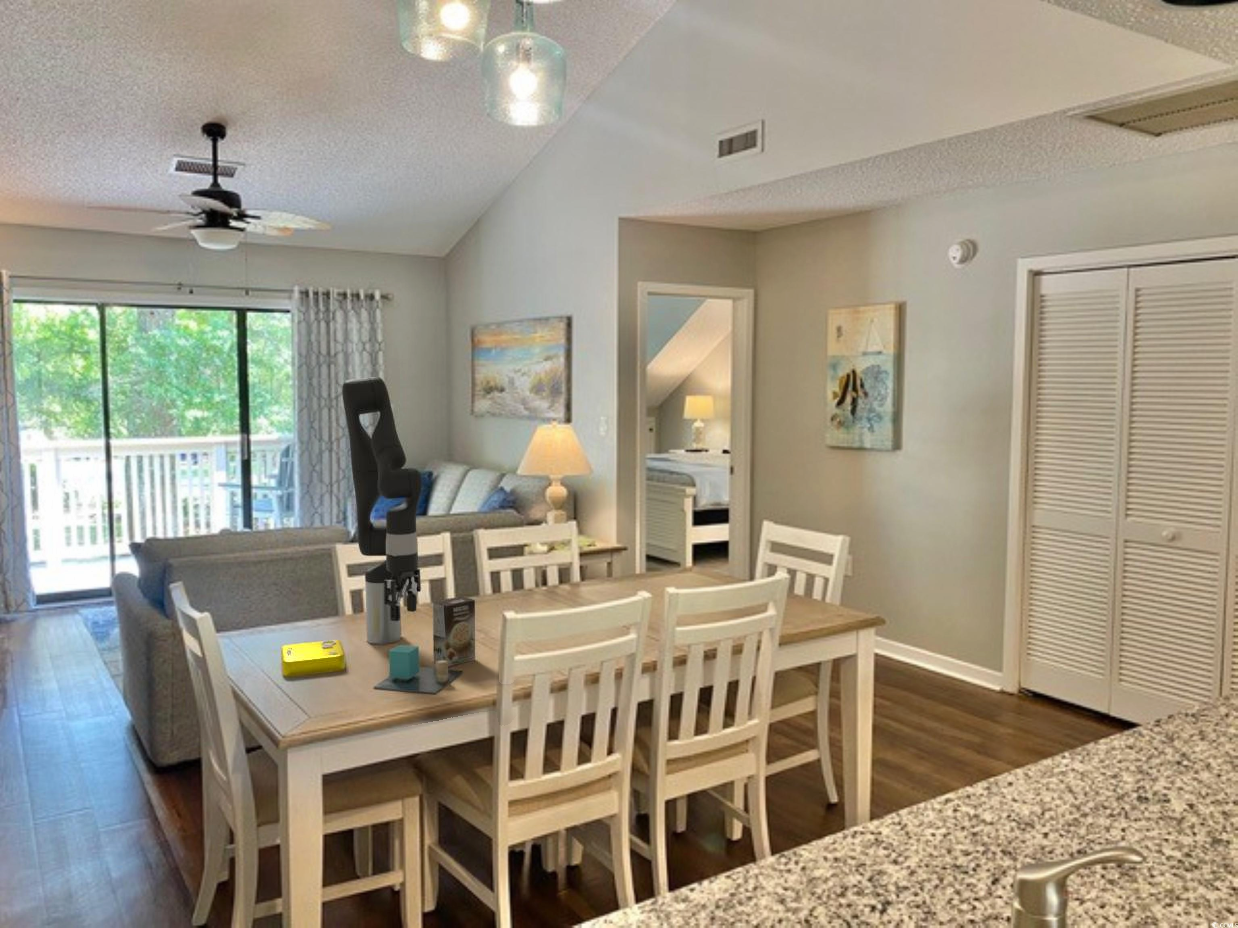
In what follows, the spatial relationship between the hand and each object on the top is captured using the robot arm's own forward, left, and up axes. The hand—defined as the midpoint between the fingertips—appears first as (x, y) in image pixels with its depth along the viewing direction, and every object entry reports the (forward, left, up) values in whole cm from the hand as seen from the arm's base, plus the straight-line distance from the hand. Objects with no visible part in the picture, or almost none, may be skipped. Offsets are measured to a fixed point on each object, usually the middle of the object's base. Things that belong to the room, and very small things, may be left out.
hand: (403, 615), depth 223 cm
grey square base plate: (0, +4, -16) cm, 16 cm away
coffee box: (-16, +6, -16) cm, 23 cm away
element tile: (-4, -28, -17) cm, 33 cm away
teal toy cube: (0, 0, -15) cm, 15 cm away
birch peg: (0, +10, -16) cm, 19 cm away
